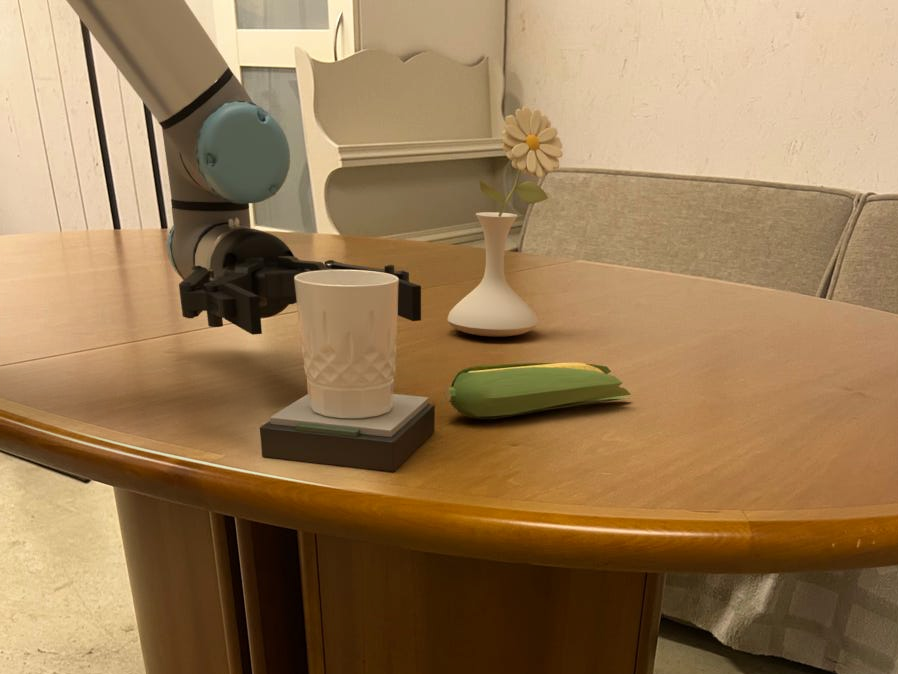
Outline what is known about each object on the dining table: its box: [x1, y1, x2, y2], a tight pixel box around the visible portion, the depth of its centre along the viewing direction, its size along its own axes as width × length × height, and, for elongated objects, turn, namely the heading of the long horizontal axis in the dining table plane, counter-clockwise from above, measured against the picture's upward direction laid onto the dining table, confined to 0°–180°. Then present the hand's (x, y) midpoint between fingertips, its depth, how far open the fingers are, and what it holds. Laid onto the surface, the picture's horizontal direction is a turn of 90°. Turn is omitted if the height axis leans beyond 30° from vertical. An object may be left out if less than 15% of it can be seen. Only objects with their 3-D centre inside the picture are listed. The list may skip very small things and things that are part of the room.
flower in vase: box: [446, 106, 563, 338], centre depth 111 cm, size 13×11×25 cm
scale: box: [259, 393, 436, 473], centre depth 76 cm, size 11×11×3 cm
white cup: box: [294, 270, 399, 418], centre depth 73 cm, size 8×8×10 cm
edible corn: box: [444, 362, 632, 420], centre depth 86 cm, size 5×20×5 cm, turn 117°
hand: (340, 309), depth 72 cm, fingers open, 13 cm apart
